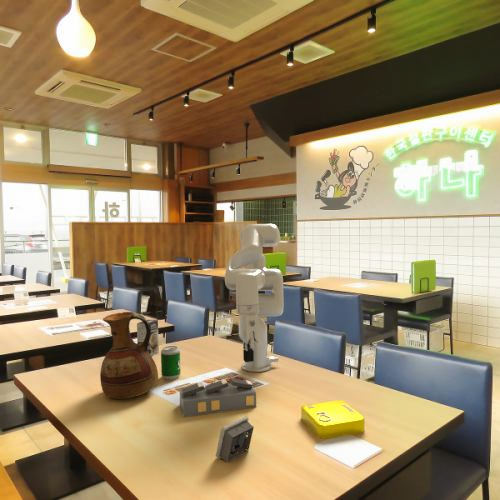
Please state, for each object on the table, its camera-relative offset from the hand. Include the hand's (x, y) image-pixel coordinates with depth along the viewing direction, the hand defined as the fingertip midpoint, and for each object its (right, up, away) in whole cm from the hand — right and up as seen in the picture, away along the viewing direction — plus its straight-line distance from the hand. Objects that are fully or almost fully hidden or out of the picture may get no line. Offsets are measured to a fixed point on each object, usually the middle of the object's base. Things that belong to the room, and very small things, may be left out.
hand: (248, 360), depth 146 cm
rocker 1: (-18, -9, -6) cm, 21 cm away
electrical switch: (-3, -16, -34) cm, 38 cm away
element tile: (+25, -15, -18) cm, 34 cm away
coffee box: (-48, -12, +56) cm, 75 cm away
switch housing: (-10, -14, -3) cm, 18 cm away
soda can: (-31, -13, +25) cm, 42 cm away
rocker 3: (-3, -8, -1) cm, 9 cm away
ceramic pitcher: (-43, -14, +9) cm, 46 cm away
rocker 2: (-10, -8, -4) cm, 14 cm away
